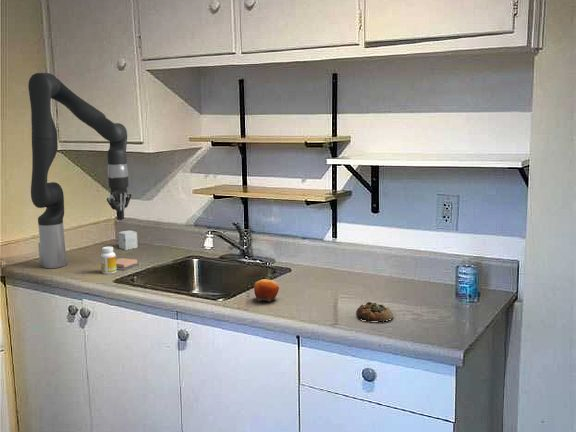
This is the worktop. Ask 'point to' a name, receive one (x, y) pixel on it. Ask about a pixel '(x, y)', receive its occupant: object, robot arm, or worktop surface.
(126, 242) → the skincare box
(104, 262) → the supplement bottle
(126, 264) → the tile
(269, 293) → the fruit
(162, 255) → the worktop surface
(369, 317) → the bread roll
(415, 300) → the worktop surface
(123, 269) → the mat
